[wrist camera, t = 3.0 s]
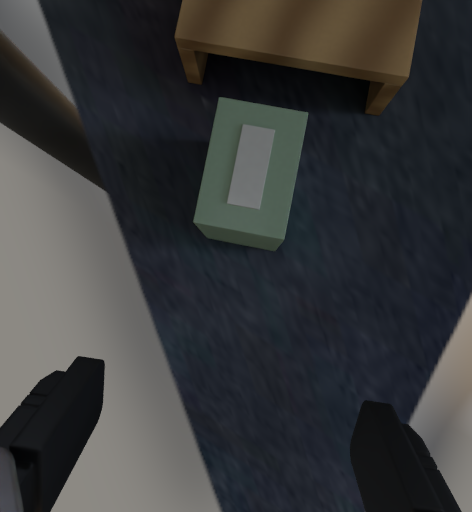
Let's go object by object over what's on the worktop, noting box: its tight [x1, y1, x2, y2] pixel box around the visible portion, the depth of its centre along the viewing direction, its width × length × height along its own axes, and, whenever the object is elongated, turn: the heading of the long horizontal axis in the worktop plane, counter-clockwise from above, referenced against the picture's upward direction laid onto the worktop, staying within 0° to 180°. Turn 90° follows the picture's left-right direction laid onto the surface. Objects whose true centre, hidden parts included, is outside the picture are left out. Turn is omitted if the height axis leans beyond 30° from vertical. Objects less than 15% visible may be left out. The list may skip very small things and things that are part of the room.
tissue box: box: [193, 97, 308, 251], centre depth 28 cm, size 6×8×8 cm
